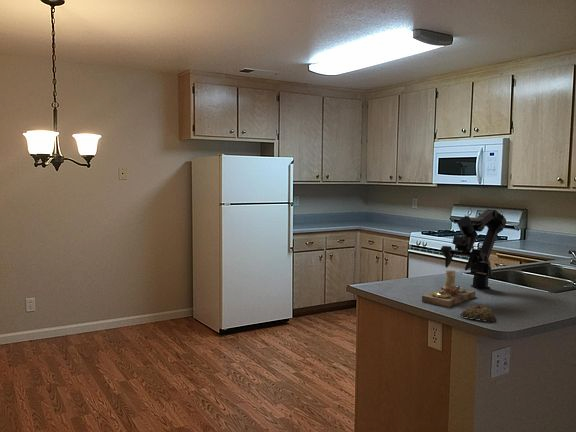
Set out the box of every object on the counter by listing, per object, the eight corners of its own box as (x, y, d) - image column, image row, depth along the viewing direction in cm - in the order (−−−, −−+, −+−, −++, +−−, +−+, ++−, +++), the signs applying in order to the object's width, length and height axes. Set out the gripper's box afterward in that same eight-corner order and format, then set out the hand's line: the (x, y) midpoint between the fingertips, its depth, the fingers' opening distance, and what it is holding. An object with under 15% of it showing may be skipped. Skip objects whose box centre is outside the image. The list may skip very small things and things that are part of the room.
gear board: (449, 291, 232) (450, 286, 232) (475, 296, 224) (475, 291, 224) (421, 301, 213) (422, 295, 213) (448, 307, 205) (448, 301, 205)
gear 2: (452, 287, 229) (453, 283, 229) (469, 290, 224) (469, 286, 224) (444, 290, 224) (444, 285, 223) (461, 293, 218) (462, 289, 218)
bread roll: (493, 324, 184) (494, 311, 184) (458, 318, 190) (459, 306, 190) (497, 316, 195) (498, 303, 195) (464, 310, 201) (465, 298, 201)
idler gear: (456, 297, 222) (457, 269, 220) (459, 301, 214) (461, 272, 213) (439, 296, 223) (441, 268, 221) (441, 300, 215) (443, 272, 214)
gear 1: (437, 292, 218) (437, 288, 218) (454, 296, 213) (454, 291, 213) (428, 295, 213) (428, 291, 213) (445, 299, 207) (446, 294, 207)
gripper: (442, 228, 230) (429, 255, 223) (482, 231, 216) (469, 259, 210) (451, 243, 236) (438, 269, 229) (489, 247, 223) (478, 275, 216)
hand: (455, 268), depth 221 cm, fingers open, 9 cm apart
